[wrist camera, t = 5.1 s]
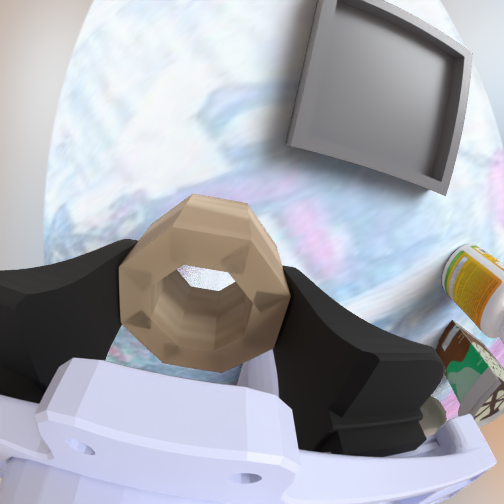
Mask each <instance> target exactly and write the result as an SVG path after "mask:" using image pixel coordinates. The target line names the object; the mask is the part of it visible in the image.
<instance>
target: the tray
mask: <svg viewBox="0 0 504 504" xmlns="http://www.w3.org/2000/svg"><path fill="white" fill-rule="evenodd" d="M471 67H472V53H471V52H470V51H469V50H467V49H466V48H465V47H463V46H462V45H460V44H459V43H457V42H456V41H455V40H453V39H452V38H450V37H449V36H447V35H446V34H444V33H442V32H441V31H439V30H438V29H436V28H435V27H433V26H431V25H430V24H428V23H426V22H424V21H423V20H421V19H419V18H417V17H416V16H414V15H412V14H410V13H408V12H406V11H404V10H402V9H401V8H399V7H397V6H395V5H392V4H390V3H388V2H386V1H384V0H318V1H317V6H316V10H315V15H314V20H313V24H312V29H311V33H310V38H309V42H308V47H307V51H306V56H305V60H304V65H303V69H302V73H301V78H300V82H299V87H298V91H297V96H296V100H295V104H294V109H293V113H292V118H291V122H290V126H289V131H288V135H287V139H286V144H287V145H289V146H292V147H296V148H300V149H304V150H308V151H312V152H316V153H320V154H324V155H327V156H331V157H334V158H338V159H341V160H345V161H348V162H351V163H355V164H358V165H361V166H364V167H368V168H371V169H374V170H377V171H380V172H383V173H386V174H389V175H392V176H394V177H397V178H400V179H403V180H406V181H408V182H411V183H414V184H416V185H419V186H422V187H424V188H427V189H429V190H432V191H434V192H437V193H439V194H442V195H444V196H446V194H447V190H448V187H449V183H450V180H451V176H452V173H453V169H454V165H455V161H456V157H457V153H458V149H459V144H460V140H461V135H462V130H463V125H464V119H465V114H466V108H467V101H468V94H469V86H470V78H471Z"/></svg>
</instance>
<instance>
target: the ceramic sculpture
mask: <svg viewBox="0 0 504 504" xmlns="http://www.w3.org/2000/svg"><path fill="white" fill-rule="evenodd" d="M420 410H421V412H422V414H423V419H422V420H421V421H419V423H420V425H421V427H422V429H423V432H424V434H425V436H430V435H433V434H435V433H436V431H437V430H438V429H439V428H440V427H441V426H442V425H443V424H444V423H445V422H446V420H447V418H446V411H445V409H444V408H443V406H442V404H441V403H440V402H439V401H438V400H437V399H436V398H434V397H432V396H430V397H429V398H428V399H427V400H426V402H425V403H424V404H423V405H422V406H421V408H420Z"/></svg>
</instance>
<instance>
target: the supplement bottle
mask: <svg viewBox="0 0 504 504" xmlns="http://www.w3.org/2000/svg"><path fill="white" fill-rule="evenodd" d="M442 286H443V289H444V291H445V292H446V294H447V295H448V296H449V297H450V298H451V299H452V300H453V301H454V302H455V303H456V304H457V305H458V306H459V307H460V308H461V309H462V310H463V311H464V312H465V313H466V314H467V315H468V316H469V318H470V319H471V320H472V321H473V322H474V323H475V324H476V325H477V326H478V328H479V329H480V330H481V331H482V332H483V333H484V334H485V335H486V336H488V337H490V338H497V337H500V339H501V340H502V342H503V343H504V265H503V264H502V263H501V262H499V261H498V260H497V259H495V258H494V257H492V256H491V255H490V254H488V253H487V252H485V251H484V250H483V249H481V248H480V247H478V246H476V245H474V244H466V245H463V246H461V247H460V248H459V249H457V250H456V251H455V252H454V253H453V254H452V256H451V257H450V258H449V260H448V261H447V263H446V265H445V268H444V271H443V275H442Z"/></svg>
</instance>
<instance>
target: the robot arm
mask: <svg viewBox="0 0 504 504" xmlns="http://www.w3.org/2000/svg"><path fill="white" fill-rule="evenodd" d="M137 242H138V241H137V240H131V239H123V240H120V241H117V242H114V243H112V244H109V245H107V246H104V247H102V248H99V249H97V250H95V251H92V252H89V253H86V254H84V255H81V256H78V257H76V258H73V259H69V260H66V261H63V262H59V263H55V264H51V265H46V266H40V267H35V268H28V269H19V270H5V271H0V477H1V478H2V481H1V484H0V504H438V503H440V502H442V501H444V500H446V499H448V498H450V497H452V496H453V495H455V494H457V493H458V492H460V491H461V490H463V489H464V488H465V487H467V486H468V485H470V484H471V483H472V482H474V481H475V480H476V479H478V478H479V477H480V476H482V475H483V474H484V473H486V472H487V471H488V470H489V469H490V468H492V467H493V466H494V465H495V464H496V462H497V461H496V459H495V457H494V455H493V453H492V451H491V450H490V448H489V446H488V444H487V442H486V440H485V438H484V436H483V435H482V433H481V431H480V429H479V427H478V426H477V424H476V422H475V420H474V419H473V417H472V415H471V414H466V415H463V416H459V417H456V418H453V419H450V420H448V421H447V422H445V423H444V424H443V425H442V426H441V427H440V428H439V429H438V430H437V431H436V433H435V434H433V435H430V436H425V434H424V432H423V429H422V427H421V425H420V423H419V421H421V420H422V419H423V414H422V412H421V410H420V408H421V406H422V405H423V404H424V403H425V402H426V400H427V399H428V398H429V397H430V395H431V394H432V393H433V392H434V390H435V389H436V388H437V386H438V384H439V383H440V381H441V379H442V376H443V373H444V364H443V362H442V360H441V358H440V357H439V355H438V354H437V353H436V351H435V350H434V348H432V347H430V346H427V345H423V344H420V343H416V342H413V341H410V340H407V339H404V338H401V337H399V336H396V335H394V334H391V333H389V332H387V331H384V330H382V329H380V328H378V327H376V326H374V325H372V324H370V323H368V322H366V321H365V320H363V319H361V318H359V317H358V316H356V315H355V314H353V313H351V312H350V311H348V310H347V309H345V308H344V307H343V306H341V305H340V304H338V303H337V302H336V301H335V300H333V299H332V298H331V297H329V296H328V295H327V294H326V293H325V292H323V291H322V290H321V289H320V288H319V287H318V286H316V285H315V284H314V283H313V282H312V281H311V280H310V279H309V278H307V277H306V276H305V275H304V274H303V273H302V272H300V271H299V270H298V269H296V268H294V267H288V266H282V267H283V271H284V274H285V277H286V280H287V284H288V287H289V291H290V294H291V298H290V301H289V304H288V307H287V310H286V313H285V316H284V319H283V322H282V325H281V328H280V331H279V334H278V337H277V340H276V343H275V346H274V348H273V349H271V350H269V351H267V352H265V353H263V354H261V355H259V356H257V357H255V358H253V359H251V360H249V361H247V362H245V363H243V365H242V368H241V372H240V375H239V379H238V382H237V386H236V385H227V384H219V383H212V382H205V381H198V380H192V379H186V378H180V377H175V376H169V375H164V374H159V373H154V372H150V371H145V370H140V369H136V368H132V367H128V366H123V365H119V364H116V363H112V362H108V361H105V359H106V356H107V354H108V351H109V349H110V347H111V344H112V342H113V340H114V339H115V337H116V335H117V333H118V331H119V329H120V327H121V325H122V324H121V316H120V295H119V266H120V265H121V263H122V262H123V261H124V259H125V258H126V257H127V255H128V254H129V253H130V251H131V250H132V249H133V248H134V246H135V245H136V244H137Z"/></svg>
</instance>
